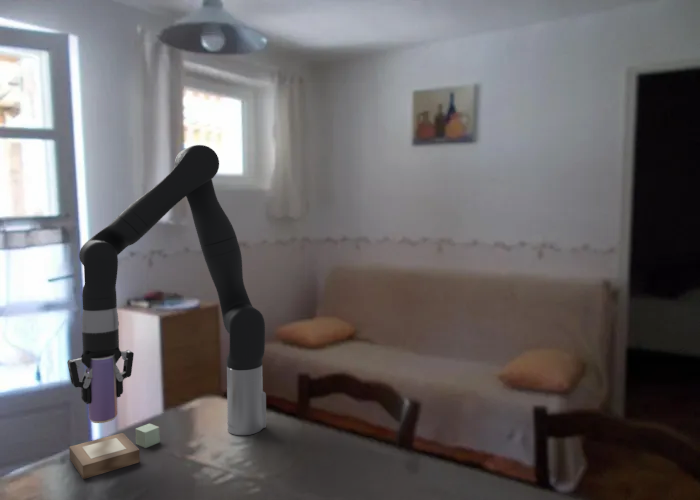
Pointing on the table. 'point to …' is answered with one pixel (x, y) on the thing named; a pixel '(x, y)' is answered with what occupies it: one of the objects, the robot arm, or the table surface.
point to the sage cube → (147, 435)
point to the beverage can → (103, 389)
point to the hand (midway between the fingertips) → (102, 399)
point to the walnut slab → (103, 455)
